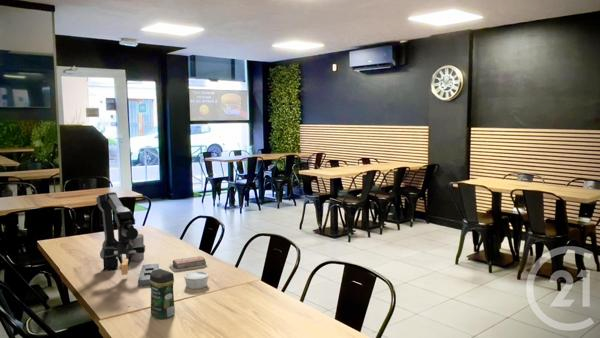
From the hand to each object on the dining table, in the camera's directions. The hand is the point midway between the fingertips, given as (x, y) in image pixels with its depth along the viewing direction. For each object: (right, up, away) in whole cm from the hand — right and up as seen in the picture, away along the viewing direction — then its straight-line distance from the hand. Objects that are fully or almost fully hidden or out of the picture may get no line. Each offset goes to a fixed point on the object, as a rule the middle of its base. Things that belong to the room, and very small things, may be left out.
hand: (125, 266), depth 229 cm
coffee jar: (+31, -11, -41) cm, 52 cm away
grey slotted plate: (+11, -6, +3) cm, 13 cm away
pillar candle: (-7, -3, +33) cm, 34 cm away
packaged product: (+26, -5, +21) cm, 34 cm away
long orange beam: (0, -3, 0) cm, 3 cm away
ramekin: (+37, -8, -8) cm, 38 cm away
